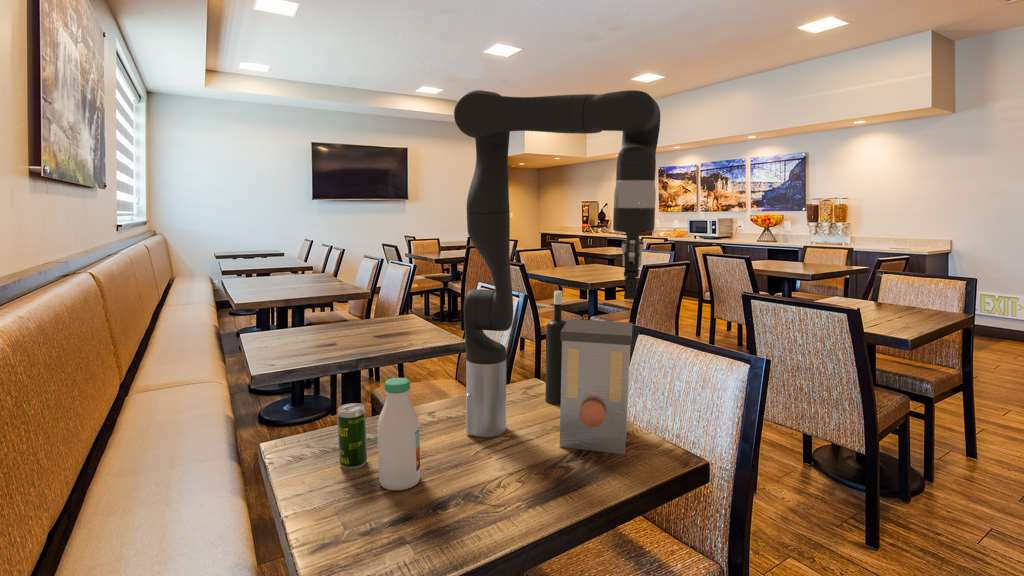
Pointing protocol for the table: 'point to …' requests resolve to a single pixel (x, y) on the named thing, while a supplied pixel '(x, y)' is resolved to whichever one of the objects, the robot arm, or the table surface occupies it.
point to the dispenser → (595, 383)
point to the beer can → (352, 436)
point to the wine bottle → (554, 353)
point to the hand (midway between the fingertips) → (630, 297)
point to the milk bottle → (398, 438)
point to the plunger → (592, 413)
